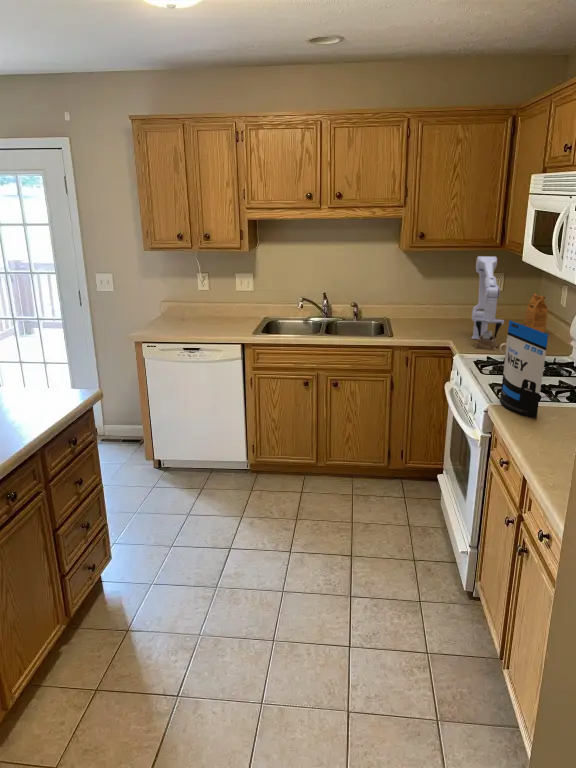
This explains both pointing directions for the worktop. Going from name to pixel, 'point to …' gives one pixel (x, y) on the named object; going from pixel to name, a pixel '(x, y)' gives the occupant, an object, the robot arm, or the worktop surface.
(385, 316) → the worktop surface
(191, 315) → the worktop surface
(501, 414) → the worktop surface
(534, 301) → the coffee package
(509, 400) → the protein powder
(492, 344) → the brown rectangular frame
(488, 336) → the silver metal block
